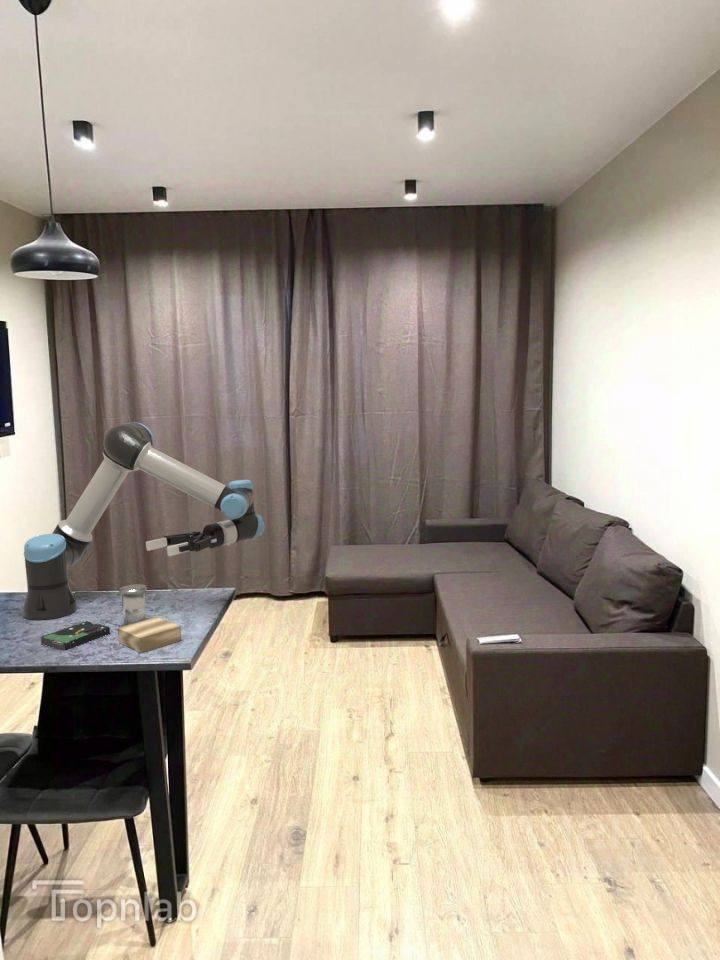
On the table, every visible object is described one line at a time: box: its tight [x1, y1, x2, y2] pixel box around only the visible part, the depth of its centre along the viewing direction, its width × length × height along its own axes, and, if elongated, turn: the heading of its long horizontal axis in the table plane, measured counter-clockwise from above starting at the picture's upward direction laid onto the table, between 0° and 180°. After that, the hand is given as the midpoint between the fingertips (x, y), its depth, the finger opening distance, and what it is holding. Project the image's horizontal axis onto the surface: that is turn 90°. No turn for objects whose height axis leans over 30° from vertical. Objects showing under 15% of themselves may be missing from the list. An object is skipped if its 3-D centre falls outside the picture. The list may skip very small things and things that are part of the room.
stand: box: [117, 616, 182, 654], centre depth 193 cm, size 12×12×4 cm
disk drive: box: [40, 621, 111, 652], centre depth 197 cm, size 10×3×15 cm
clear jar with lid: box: [118, 583, 147, 626], centre depth 208 cm, size 8×8×11 cm
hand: (156, 548), depth 212 cm, fingers open, 13 cm apart
